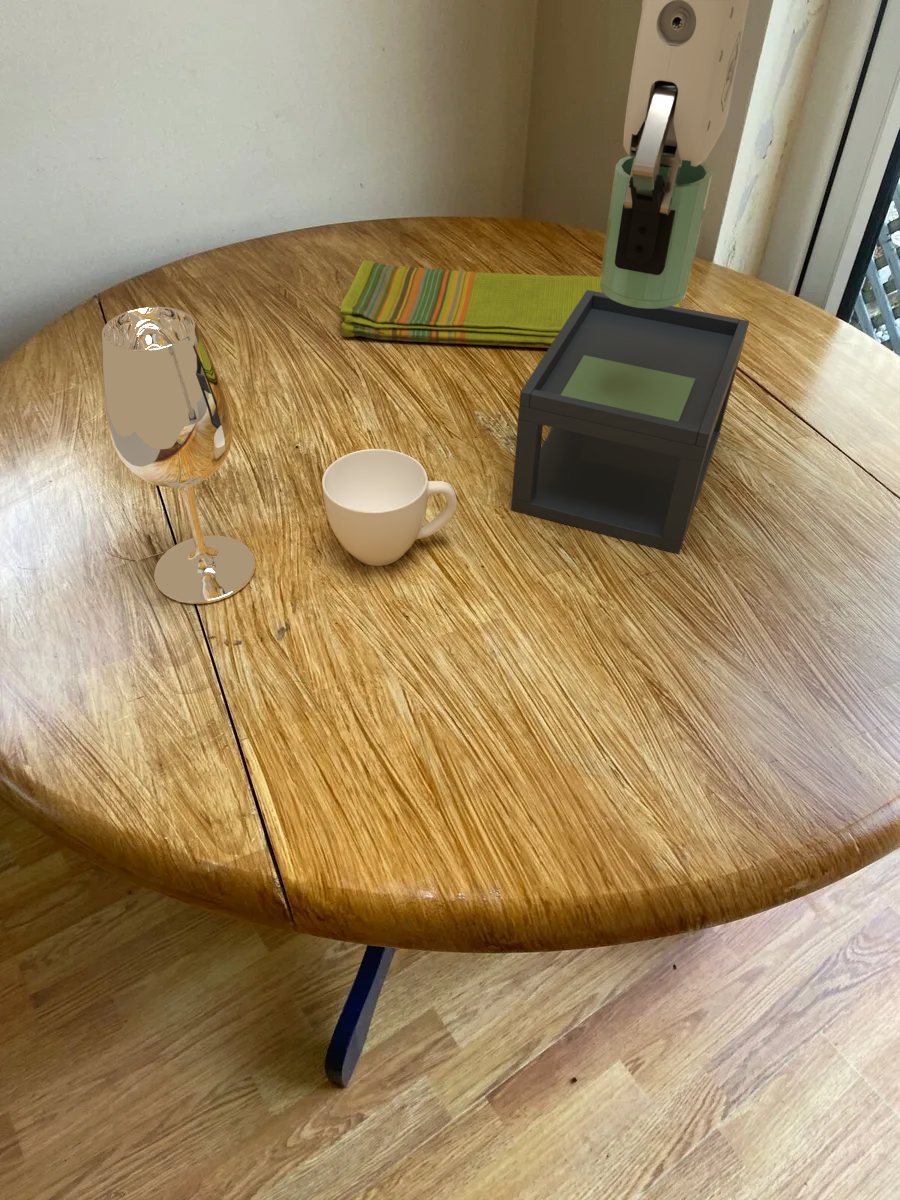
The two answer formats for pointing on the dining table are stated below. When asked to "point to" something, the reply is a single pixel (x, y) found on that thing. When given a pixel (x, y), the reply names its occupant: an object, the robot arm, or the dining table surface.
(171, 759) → the dining table surface
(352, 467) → the cup
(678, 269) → the tumbler
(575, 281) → the dish towel
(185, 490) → the wineglass
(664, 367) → the tray
